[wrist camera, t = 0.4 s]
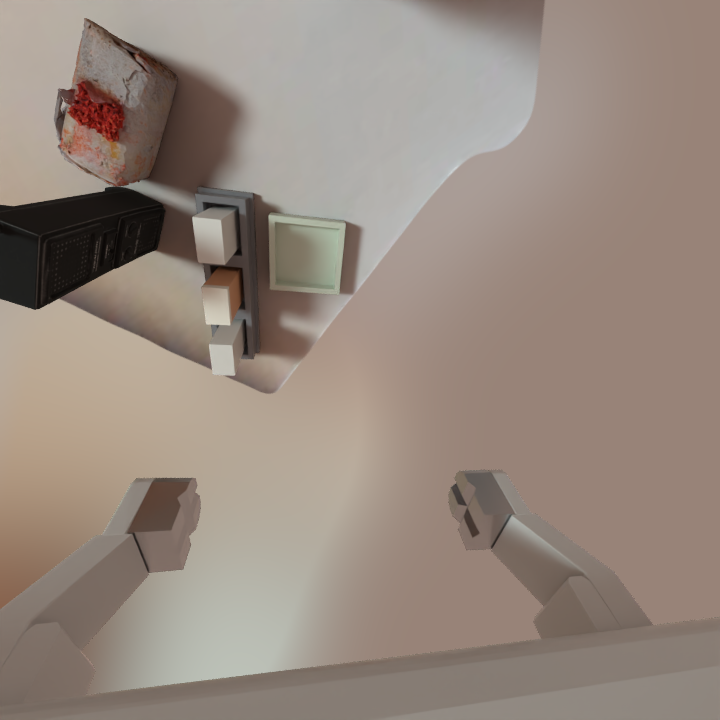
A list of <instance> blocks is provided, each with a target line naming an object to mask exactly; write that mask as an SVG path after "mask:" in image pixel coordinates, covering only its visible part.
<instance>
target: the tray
mask: <svg viewBox="0 0 720 720" xmlns="http://www.w3.org/2000/svg"><path fill="white" fill-rule="evenodd" d="M268 216H269V266H270V290H280V291H294V292H307V293H320V294H334V295H339V290H340V280H341V269H342V259H343V248H344V238H345V227H346V223H345V221H343V220H334V219H326V218H317V217H308V216H299V215H290V214H282V213H273V212H270V213H269V215H268Z"/></svg>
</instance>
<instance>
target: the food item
mask: <svg viewBox="0 0 720 720" xmlns="http://www.w3.org/2000/svg"><path fill="white" fill-rule="evenodd" d="M84 28H85V29H84V30H83V33H82V38H81V42H80V46H79V51H78V56H77V61H76V69H75V72H74V77H73V82H72V87H71V89H70V90H65V89H58V97H57V103H56V108H55V116H54V121H55V126H56V130H57V137H58V140H59V142H60V145H58V148H59V150H60V152H61V154H62V155H63V156H64V159H65V160H67V161H68V162H70V163H72V164H73V165H74V166H76V167H77V168H79V169H80V170H82V171H84V172H86V173H88V174H91V175H94V176H96V177H98V178H99V179H101V180H103V181H104V182H106V183H108V184H110V185H113V186H125V185H129V183H134V182H137V181H138V182H140V181H139V180H142V179H146V178H148V177H149V175H150V173H151V171H152V168H153V166H154V163H155V160H156V156H157V153H158V150H159V146H160V143H161V139H162V134H163V132H164V129H165V126H166V123H167V120H168V116H169V111H170V108H171V105H172V101H173V97H174V93H175V89H176V86H177V79H178V77H177V75H175V74H174V73H173V72H172V71H170V70H169V69H168V67H166V66H165V65H163V64H161V62H158V61H156V60H155V59H153V58H151V57H149V56H148V55H147V54H145V53H144V52H143V51H141V50H139V49H138V48H136V47H135V46H133V45H131V44H129V43H127V42H125V41H123V40H122V39H119V38H118V37H116V36H114V35H113V34H111V33H109V32H108V31H107V30H106V29H104V28H103V27H101V26H99V25H98V24H96V23H94V22H93V21H91V20H89V19H86V18H84ZM60 90H61V91H60ZM60 95H61V96H62V97H63V99H64V102H65V103H66V107H64V108H63V109H62V112H61V109H60V108H61V105H62V102H63V99H62V97H61V96H60ZM66 99H68V100H66Z"/></svg>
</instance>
